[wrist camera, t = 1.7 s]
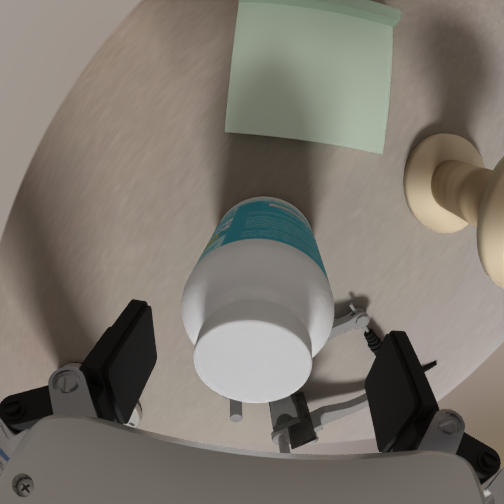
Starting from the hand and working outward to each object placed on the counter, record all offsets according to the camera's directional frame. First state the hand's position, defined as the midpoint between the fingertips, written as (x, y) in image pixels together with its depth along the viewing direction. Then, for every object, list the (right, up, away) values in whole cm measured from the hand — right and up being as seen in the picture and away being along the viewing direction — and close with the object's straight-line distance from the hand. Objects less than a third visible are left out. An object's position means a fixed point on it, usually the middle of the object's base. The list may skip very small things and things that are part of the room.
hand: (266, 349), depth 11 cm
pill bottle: (0, +5, +12) cm, 13 cm away
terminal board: (+4, +17, +7) cm, 18 cm away
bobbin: (+15, +9, +9) cm, 20 cm away
